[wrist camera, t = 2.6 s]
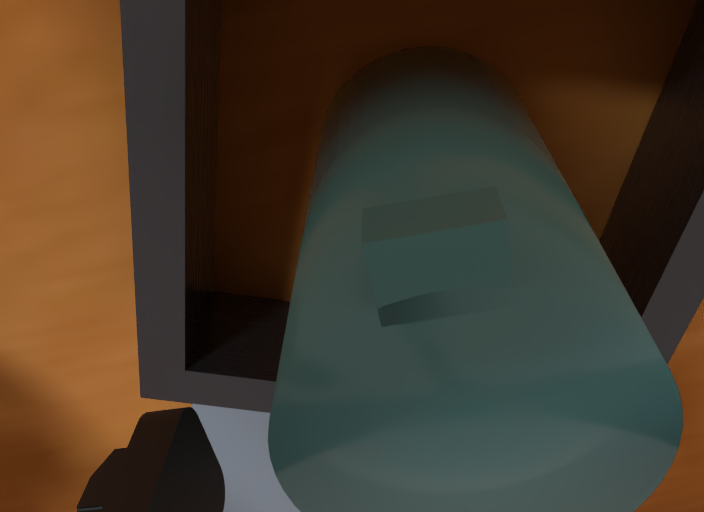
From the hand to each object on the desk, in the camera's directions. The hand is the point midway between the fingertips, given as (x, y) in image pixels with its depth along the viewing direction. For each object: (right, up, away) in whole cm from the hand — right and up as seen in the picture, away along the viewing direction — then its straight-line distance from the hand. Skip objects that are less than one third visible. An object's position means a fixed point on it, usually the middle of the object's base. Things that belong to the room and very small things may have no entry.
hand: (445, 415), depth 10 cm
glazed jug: (0, +5, +7) cm, 9 cm away
